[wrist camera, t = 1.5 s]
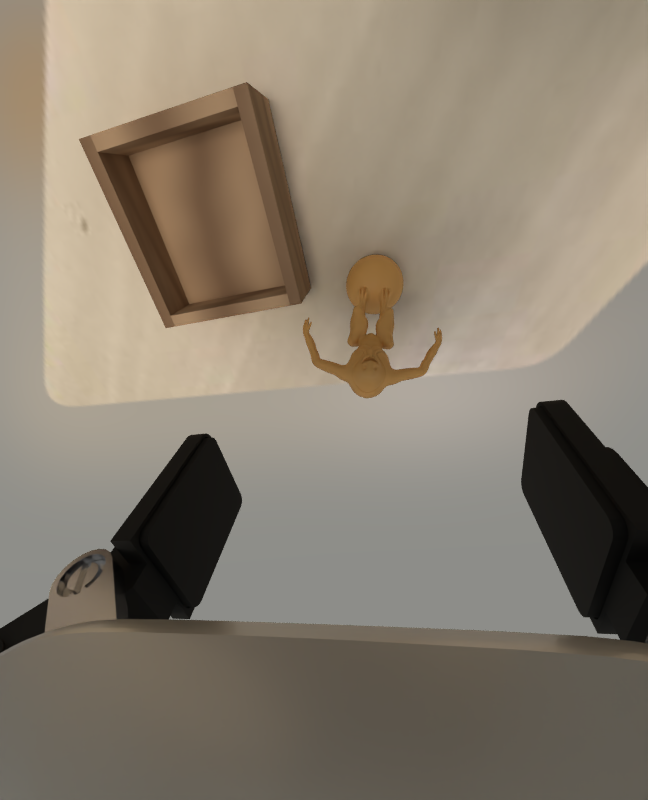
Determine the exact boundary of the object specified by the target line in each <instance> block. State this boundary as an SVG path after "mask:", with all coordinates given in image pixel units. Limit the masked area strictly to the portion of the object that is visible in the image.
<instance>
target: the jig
mask: <svg viewBox="0 0 648 800" xmlns="http://www.w3.org/2000/svg"><path fill="white" fill-rule="evenodd" d="M79 141H80V143H81V145H82V147H83V149H84V151H85V154H86V156H87V158H88V160H89V162H90V164H91V167H92V169H93V171H94V173H95V175H96V177H97V180H98V182H99V184H100V186H101V188H102V191H103V193H104V195H105V197H106V199H107V201H108V204H109V206H110V208H111V210H112V212H113V214H114V217H115V219H116V221H117V223H118V225H119V227H120V230H121V232H122V234H123V236H124V238H125V240H126V243H127V245H128V247H129V249H130V251H131V253H132V256H133V258H134V260H135V262H136V264H137V267H138V269H139V271H140V273H141V275H142V277H143V280H144V282H145V284H146V286H147V288H148V290H149V293H150V295H151V297H152V299H153V301H154V303H155V306H156V308H157V310H158V312H159V314H160V316H161V319H162V321H163V323H164V325H165V327H166V328H169V327H174V326H180V325H185V324H191V323H196V322H202V321H207V320H213V319H218V318H224V317H229V316H235V315H240V314H246V313H251V312H257V311H262V310H268V309H273V308H279V307H284V306H290V305H295V304H301V303H302V301H303V300H304V298H305V297H306V295H307V293H308V292H309V290H310V289H311V286H310V281H309V277H308V273H307V268H306V264H305V259H304V255H303V251H302V246H301V242H300V237H299V233H298V228H297V224H296V220H295V215H294V211H293V206H292V202H291V198H290V193H289V189H288V184H287V180H286V176H285V171H284V167H283V162H282V158H281V153H280V149H279V145H278V140H277V136H276V131H275V127H274V123H273V118H272V114H271V109H270V105H269V101H268V99H267V98H266V97H265V96H263V95H262V94H261V93H260V92H258V91H257V90H256V89H255V88H253V87H252V86H251V85H250V84H248V83H247V82H246V83H243V84H240V85H237V86H234V87H231V88H228V89H225V90H222V91H219V92H216V93H214V94H211V95H208V96H205V97H202V98H199V99H196V100H193V101H190V102H187V103H184V104H181V105H178V106H175V107H172V108H169V109H166V110H164V111H161V112H158V113H155V114H152V115H149V116H146V117H143V118H140V119H137V120H134V121H131V122H128V123H125V124H122V125H119V126H116V127H113V128H111V129H108V130H105V131H102V132H99V133H96V134H93V135H90V136H87V137H84V138H81V139H79Z"/></svg>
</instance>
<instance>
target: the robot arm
mask: <svg viewBox="0 0 648 800" xmlns="http://www.w3.org/2000/svg"><path fill="white" fill-rule="evenodd" d="M521 485H522V490H523V493H524V496H525V498H526V500H527V502H528V504H529V506H530V508H531V511H532V513H533V515H534V517H535V519H536V521H537V523H538V525H539V528H540V530H541V532H542V534H543V536H544V538H545V540H546V543H547V545H548V547H549V549H550V551H551V553H552V555H553V557H554V559H555V561H556V564H557V566H558V568H559V570H560V572H561V574H562V577H563V579H564V581H565V583H566V585H567V587H568V589H569V592H570V594H571V596H572V598H573V600H574V602H575V604H576V606H577V608H578V610H579V612H580V614H581V615H582V616H583V617H590V619H591V621H592V623H593V625H594V627H595V629H596V631H597V633H601V634H618V636H619V638H620V640H617V639H608V638H598V637H587V636H573V635H572V636H571V635H555V634H537V633H520V632H503V631H479V630H455V629H431V628H407V627H383V626H354V625H327V624H299V623H271V622H238V621H237V622H236V621H203V620H169V617H170V616H171V617H172V618H176V619H190V617H191V615H192V612H193V610H194V608H195V607H196V606H198V605H199V604H200V602H201V600H202V598H203V595H204V593H205V591H206V588H207V586H208V584H209V581H210V579H211V576H212V574H213V572H214V569H215V567H216V564H217V562H218V560H219V557H220V555H221V553H222V550H223V548H224V545H225V543H226V541H227V538H228V536H229V533H230V531H231V529H232V526H233V524H234V522H235V519H236V517H237V514H238V512H239V509H240V507H241V504H242V497H241V494H240V492H239V489H238V487H237V485H236V483H235V481H234V478H233V477H232V474H231V472H230V470H229V468H228V466H227V463H226V461H225V459H224V457H223V455H222V452H221V450H220V448H219V446H218V444H217V442H216V440H215V439H214V438H211V436H210V435H209V434H197V435H190V436H188V437H187V438H186V440H185V441H184V443H183V444H182V445H181V447H180V448H179V449H178V451H177V452H176V453H175V455H174V456H173V457H172V459H171V460H170V461H169V463H168V464H167V466H166V467H165V468H164V469H163V471H162V472H161V474H160V475H159V476H158V478H157V479H156V480H155V482H154V483H153V484H152V486H151V487H150V488H149V490H148V491H147V492H146V494H145V495H144V496H143V498H142V499H141V501H140V502H139V503H138V505H137V506H136V507H135V509H134V510H133V511H132V513H131V514H130V515H129V517H128V518H127V519H126V521H125V522H124V523H123V525H122V526H121V527H120V529H119V530H118V532H117V533H116V534H115V536H114V537H113V538H112V540H111V543H112V544H113V545H114V546H115V547H114V549H113V551H112V552H109V551H108V550H106V549H97V550H92V551H89V552H87V553H85V554H82V555H81V556H79V557H78V558H76V559H75V560H73V561H72V562H71V563H70V564H68V565H67V566H66V567H65V568H64V569H63V570H62V571H61V572H60V574H59V575H58V576H57V577H56V579H55V581H54V582H53V584H52V586H51V589H50V592H49V599H47V600H45V601H44V602H42V603H41V604H39V605H37V606H36V607H34V608H33V609H31V610H29V611H28V612H26V613H25V614H23V615H21V616H20V617H18V618H17V619H15V620H14V621H12V622H10V623H9V624H7V625H5V626H4V627H2V628H0V800H648V487H647V486H646V485H645V484H644V483H643V481H642V480H641V479H640V478H639V477H638V476H637V475H636V474H635V472H634V471H633V470H632V469H631V468H630V467H629V466H628V465H627V463H626V462H625V461H624V460H623V459H622V458H621V457H620V456H619V454H618V453H616V452H615V451H614V450H613V449H611V448H609V447H605V446H604V445H603V444H602V443H601V442H600V440H599V439H598V438H597V437H596V436H595V435H594V433H593V432H592V431H591V430H590V429H589V428H588V426H587V425H586V424H585V423H584V422H583V421H582V419H581V418H580V417H579V416H578V415H577V414H576V412H575V411H574V410H573V409H572V408H571V407H570V405H569V404H568V403H567V402H566V401H564V400H556V401H545V402H539V403H538V404H537V406H536V408H531V409H530V411H529V417H528V426H527V435H526V443H525V453H524V461H523V469H522V478H521Z"/></svg>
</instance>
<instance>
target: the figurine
mask: <svg viewBox="0 0 648 800" xmlns="http://www.w3.org/2000/svg"><path fill="white" fill-rule="evenodd" d="M346 289H347V294H348V297H349V299H350V301H351V302H352V304H353V305H354V306H355V307H354V309H353V314H352V317H351V321H350V335H349V338H348V344H349V345H350V346H352V347H355V346H359V347H358V348H357V350H355V351H354V352H353V354H352V355H351V358H350V360H349V362H348V363H347V364H346V365H340V364H337V363H334V362H330V361H327V360H322V359H320V357H319V353H318V351H317V349H316V345H315V342H314V340H313V338H312V337H311V335H310V334H309V329H310V327H311V324H312V322H310V324H309V318H308V320H305V323H304V325H303V334H304V336H305V340H306V344H307V346H308V349H309V351H310V354H311V359H312V363H313V364H314V365H315V366H316V367H317V368H319V369H321V370H324V371H326V372H328V373H331V374H334V375H336V376H337V377H338V378H340V379H341V380H344V381H346V382H348V383H349V385H350V387H351V388H352V390H353V391H354V393H356V394H357V395H358V396H360V397H363V398H372V397H374V396H377V395H378V394H380V393H381V392H382V390H383V389H384V388H385V387H386V386H388V385H393V384H396V383H398V382H400V381H403V380H409V379H414V378H418V377H421V376H423V375H424V374H425V373H426V372H427V370H428V368H429V365H430V363H431V361H432V360H433V358H434V356H435V355H436V353H437V351H438V348H439V347H440V345H441V342H442V332H441V330H440V332H439V328H437V334H436V332H434V335H435V339H436V342H435V344H434V345H433V346H432V347H431V348H430V349H429V350H428V352H427V354H426V356H425V358H424V360H423V361H422V362H421V365H420V367H418V368H406V369H399V370H394V369H392V368H391V366H390V363H389V359H388V356H387V354H386V353H385V352H384V351H383V350H382V348H383V349H391V348H392V347H393V346H394V342H393V337H392V334H393V329H394V311H393V309H391V308H392V307H393V306H394V305H395V304H396V302H397V301H398V300H399V298H400V296H401V293H402V290H403V276H402V273H401V270H400V268H399V267H398V265H397V264H396V263H395V262H394V261H393V260H392V259H390V258H388V257H386V256H383V255H369V256H366V257H364V258H362V259H360V260H359V261H358V262H356V263H355V264H354V266H353V267H352V268H351V270H350V272H349V274H348V277H347V282H346ZM365 313H368V314H379V313H380V317H379V320H378V321H377V323H376V335H374V334H373V333H369V334H367V335H366V332H367V329H368V320H367V318H366V317H365ZM306 322H307V323H306ZM308 325H309V326H308Z"/></svg>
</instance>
